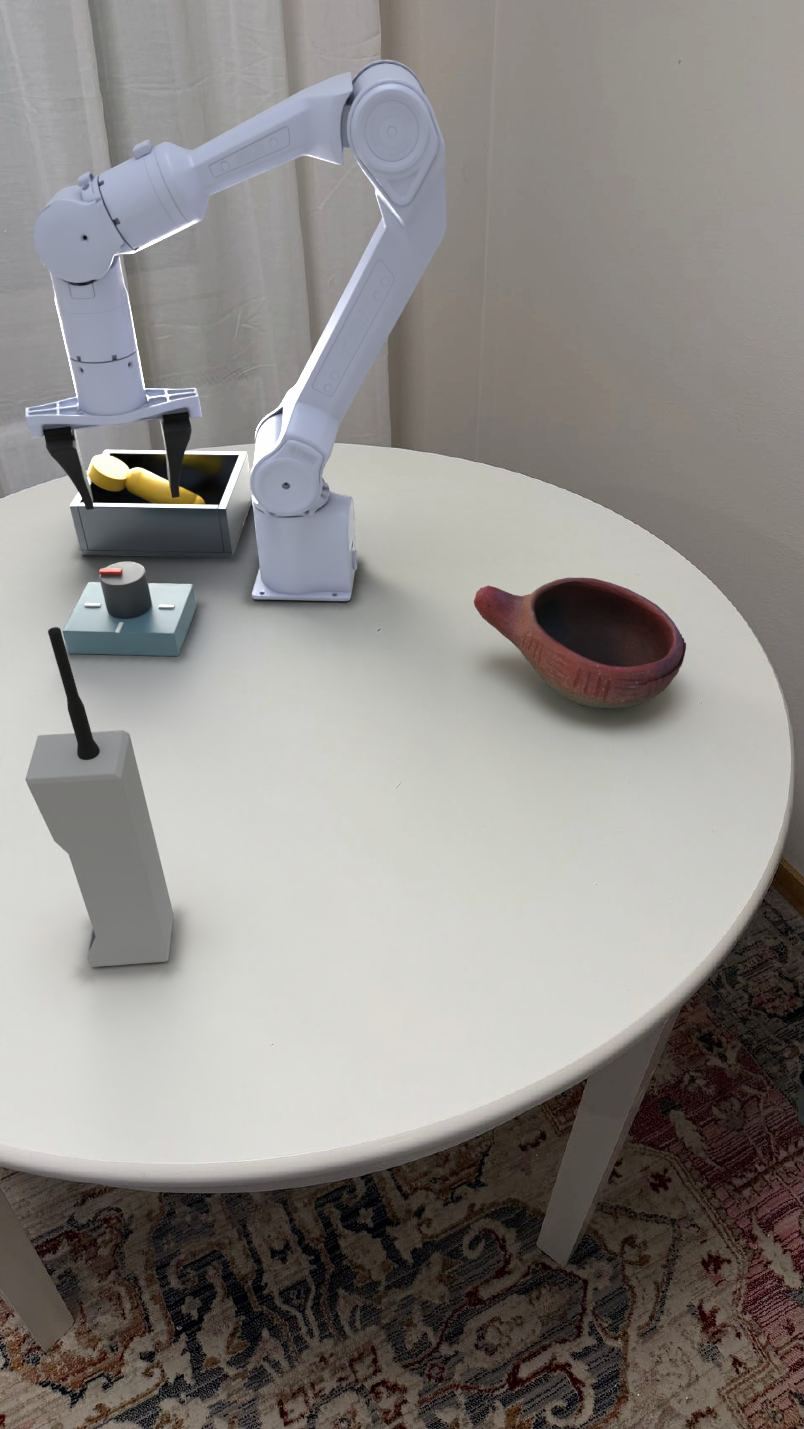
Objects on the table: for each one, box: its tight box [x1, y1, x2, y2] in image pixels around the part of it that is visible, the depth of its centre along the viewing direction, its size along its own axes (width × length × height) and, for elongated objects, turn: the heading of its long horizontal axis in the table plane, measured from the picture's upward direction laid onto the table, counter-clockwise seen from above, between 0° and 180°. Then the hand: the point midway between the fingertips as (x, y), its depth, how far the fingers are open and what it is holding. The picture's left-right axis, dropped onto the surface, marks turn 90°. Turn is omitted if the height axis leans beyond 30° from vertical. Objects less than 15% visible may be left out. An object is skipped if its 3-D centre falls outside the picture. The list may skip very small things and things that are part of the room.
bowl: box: [473, 577, 687, 709], centre depth 83 cm, size 16×13×8 cm
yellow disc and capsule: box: [87, 454, 205, 505], centre depth 105 cm, size 12×4×3 cm, turn 87°
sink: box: [69, 449, 252, 559], centre depth 105 cm, size 16×13×6 cm
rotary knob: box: [98, 561, 152, 618], centre depth 90 cm, size 4×4×4 cm
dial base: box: [61, 581, 198, 657], centre depth 92 cm, size 10×8×3 cm
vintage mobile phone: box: [25, 626, 175, 968], centre depth 57 cm, size 4×5×25 cm
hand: (132, 498), depth 92 cm, fingers open, 7 cm apart
